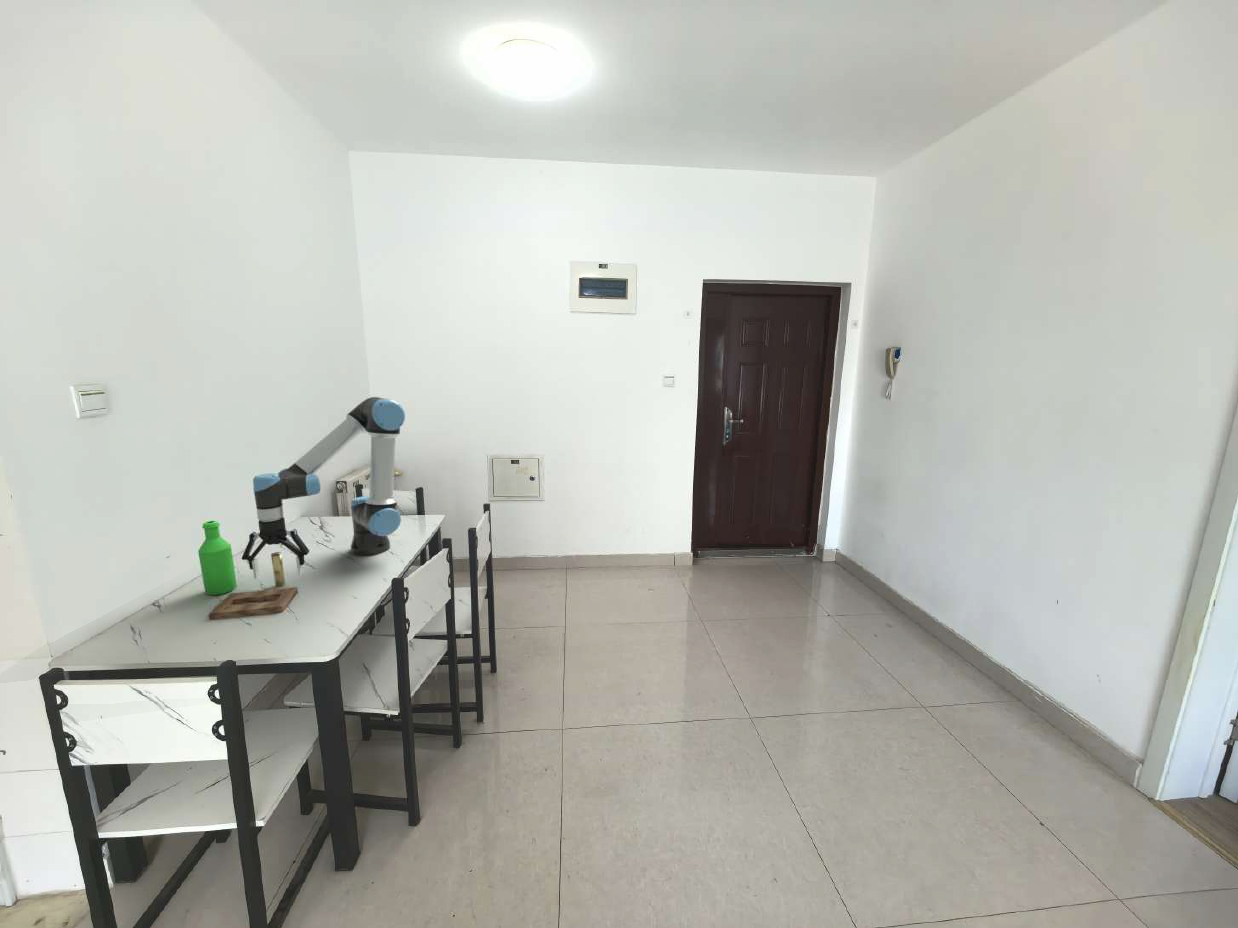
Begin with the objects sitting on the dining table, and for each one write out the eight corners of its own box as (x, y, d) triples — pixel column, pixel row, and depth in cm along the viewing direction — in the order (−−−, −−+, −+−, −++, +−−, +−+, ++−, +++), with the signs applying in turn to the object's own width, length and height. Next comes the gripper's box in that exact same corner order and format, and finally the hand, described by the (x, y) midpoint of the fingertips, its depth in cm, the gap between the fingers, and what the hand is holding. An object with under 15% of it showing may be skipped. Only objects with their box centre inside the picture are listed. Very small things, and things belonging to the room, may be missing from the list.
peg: (286, 582, 182) (282, 551, 179) (283, 586, 179) (279, 554, 176) (277, 583, 181) (272, 552, 178) (274, 587, 178) (269, 555, 176)
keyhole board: (297, 592, 174) (297, 587, 174) (282, 611, 161) (282, 606, 161) (230, 598, 169) (229, 593, 169) (209, 619, 156) (208, 613, 156)
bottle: (202, 598, 170) (190, 527, 164) (208, 587, 177) (197, 520, 172) (234, 593, 174) (223, 523, 168) (239, 583, 181) (229, 516, 176)
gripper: (314, 512, 182) (321, 567, 186) (234, 517, 175) (243, 574, 180) (308, 519, 174) (314, 576, 179) (224, 524, 168) (233, 583, 172)
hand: (279, 575), depth 179 cm, fingers open, 13 cm apart
